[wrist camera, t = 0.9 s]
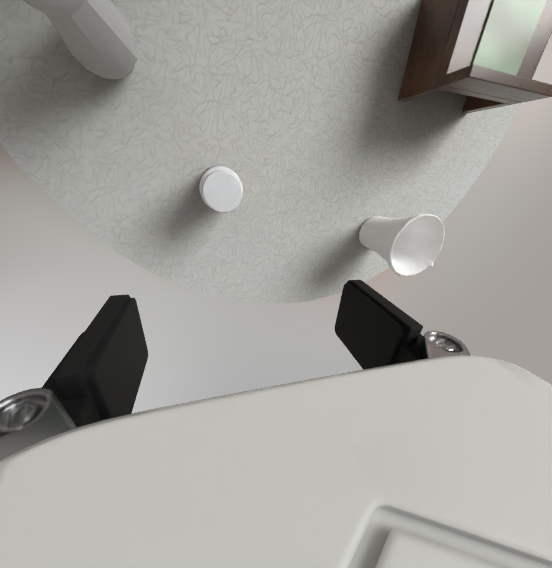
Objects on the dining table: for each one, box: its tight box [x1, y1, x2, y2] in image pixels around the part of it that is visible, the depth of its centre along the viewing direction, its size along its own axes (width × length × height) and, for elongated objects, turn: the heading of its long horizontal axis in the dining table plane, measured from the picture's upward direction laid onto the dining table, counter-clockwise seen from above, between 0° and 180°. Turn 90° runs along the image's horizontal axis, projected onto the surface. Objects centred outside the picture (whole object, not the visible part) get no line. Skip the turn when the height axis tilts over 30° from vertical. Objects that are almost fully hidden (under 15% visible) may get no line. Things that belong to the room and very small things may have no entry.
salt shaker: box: [24, 0, 137, 79], centre depth 17 cm, size 6×6×13 cm
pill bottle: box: [199, 166, 243, 213], centre depth 27 cm, size 5×5×8 cm
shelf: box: [398, 0, 552, 113], centre depth 27 cm, size 10×13×10 cm
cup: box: [359, 214, 445, 276], centre depth 36 cm, size 9×9×10 cm
